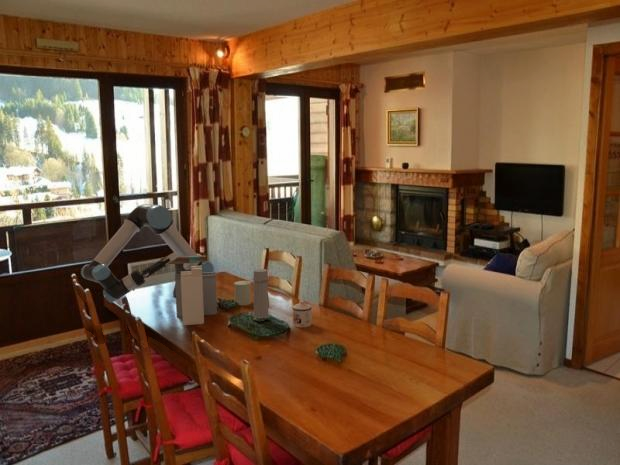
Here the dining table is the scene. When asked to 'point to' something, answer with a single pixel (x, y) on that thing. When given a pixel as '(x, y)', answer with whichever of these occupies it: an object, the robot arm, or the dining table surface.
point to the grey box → (208, 294)
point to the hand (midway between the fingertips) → (175, 255)
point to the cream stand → (192, 296)
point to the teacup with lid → (302, 315)
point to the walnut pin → (187, 259)
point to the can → (242, 292)
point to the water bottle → (260, 293)
